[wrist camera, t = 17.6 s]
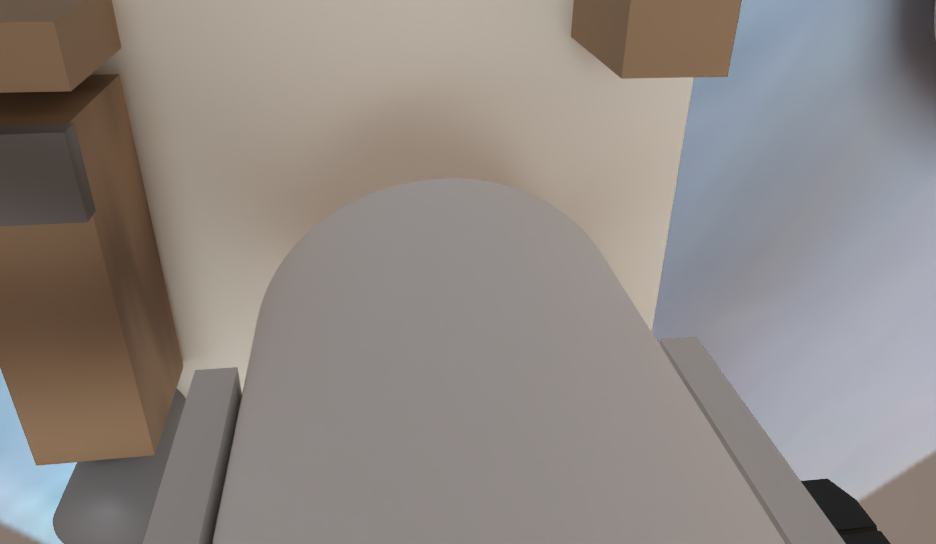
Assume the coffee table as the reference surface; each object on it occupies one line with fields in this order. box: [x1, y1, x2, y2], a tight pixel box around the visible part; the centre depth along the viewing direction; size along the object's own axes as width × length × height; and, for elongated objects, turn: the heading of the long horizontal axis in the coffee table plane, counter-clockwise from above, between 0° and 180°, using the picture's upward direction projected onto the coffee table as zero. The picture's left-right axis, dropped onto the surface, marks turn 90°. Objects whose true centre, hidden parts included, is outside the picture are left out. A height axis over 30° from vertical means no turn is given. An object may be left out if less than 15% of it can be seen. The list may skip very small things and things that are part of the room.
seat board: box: [0, 0, 742, 544], centre depth 21 cm, size 17×20×6 cm
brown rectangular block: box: [0, 74, 183, 465], centre depth 19 cm, size 9×3×5 cm, turn 0°
